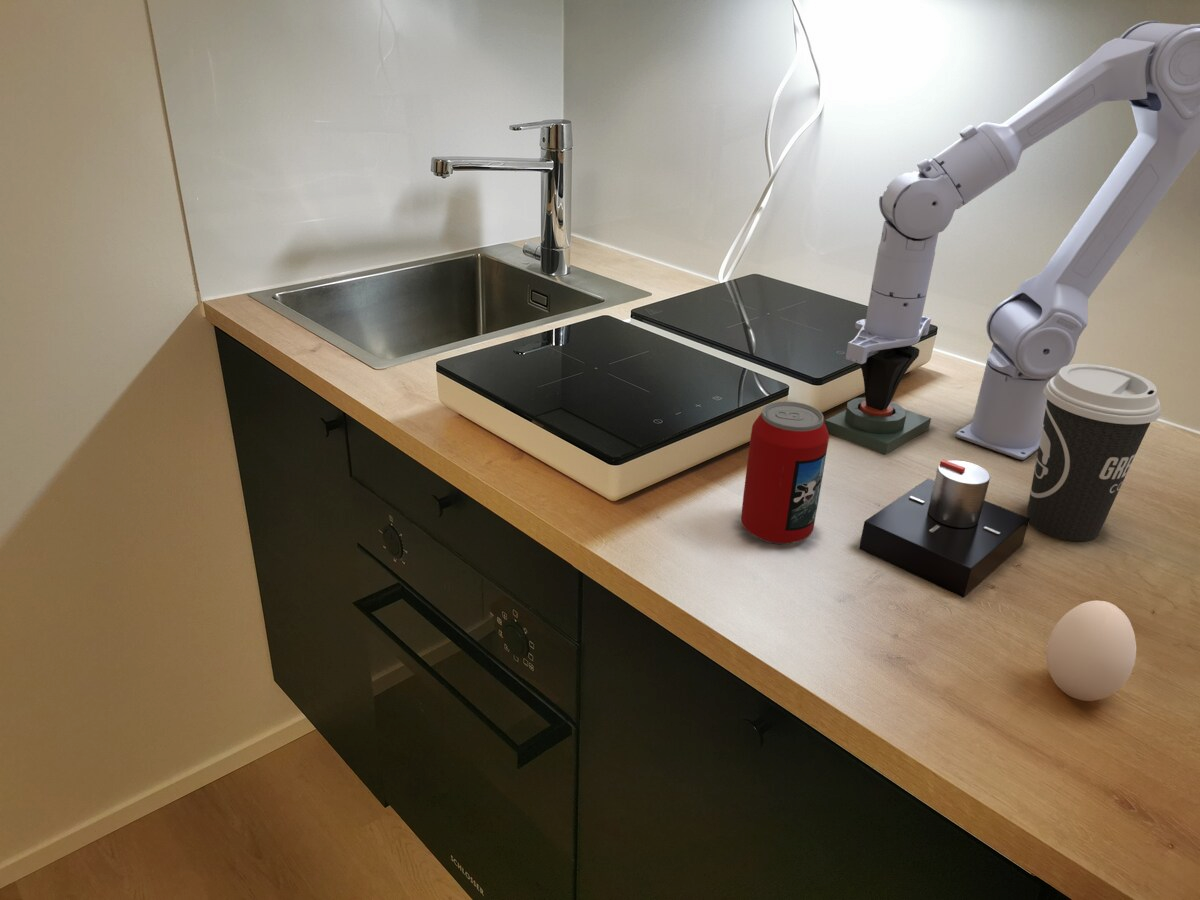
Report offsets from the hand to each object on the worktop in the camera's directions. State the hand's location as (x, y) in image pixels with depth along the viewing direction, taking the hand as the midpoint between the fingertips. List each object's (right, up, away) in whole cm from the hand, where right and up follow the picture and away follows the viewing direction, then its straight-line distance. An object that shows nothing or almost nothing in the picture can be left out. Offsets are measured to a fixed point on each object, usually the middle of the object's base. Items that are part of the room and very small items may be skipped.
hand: (876, 406), depth 103 cm
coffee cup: (+13, -12, -15) cm, 24 cm away
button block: (+1, -3, +2) cm, 3 cm away
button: (0, -2, +1) cm, 2 cm away
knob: (+1, -11, -21) cm, 23 cm away
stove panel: (0, -14, -20) cm, 24 cm away
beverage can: (-15, -13, -18) cm, 27 cm away
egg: (+3, -23, -37) cm, 43 cm away
